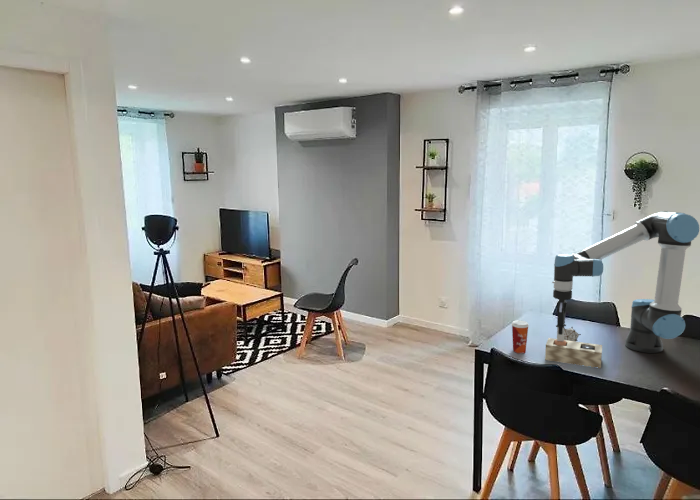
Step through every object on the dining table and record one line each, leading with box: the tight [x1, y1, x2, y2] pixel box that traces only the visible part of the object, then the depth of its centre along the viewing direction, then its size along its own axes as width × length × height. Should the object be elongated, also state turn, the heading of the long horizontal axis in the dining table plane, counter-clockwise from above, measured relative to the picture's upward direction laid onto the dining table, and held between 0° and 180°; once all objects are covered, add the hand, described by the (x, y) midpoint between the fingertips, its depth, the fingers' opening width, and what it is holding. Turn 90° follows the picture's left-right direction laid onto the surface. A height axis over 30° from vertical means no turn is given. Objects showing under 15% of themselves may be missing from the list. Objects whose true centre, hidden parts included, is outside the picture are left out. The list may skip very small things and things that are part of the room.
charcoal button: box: [582, 345, 594, 350], centre depth 205 cm, size 5×5×6 cm
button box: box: [544, 337, 603, 369], centre depth 207 cm, size 22×10×7 cm, turn 61°
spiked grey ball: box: [564, 326, 581, 342], centre depth 227 cm, size 9×8×10 cm
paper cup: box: [510, 319, 530, 354], centre depth 219 cm, size 8×8×14 cm
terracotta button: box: [555, 338, 566, 346], centre depth 210 cm, size 5×5×6 cm
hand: (560, 340), depth 209 cm, fingers closed
